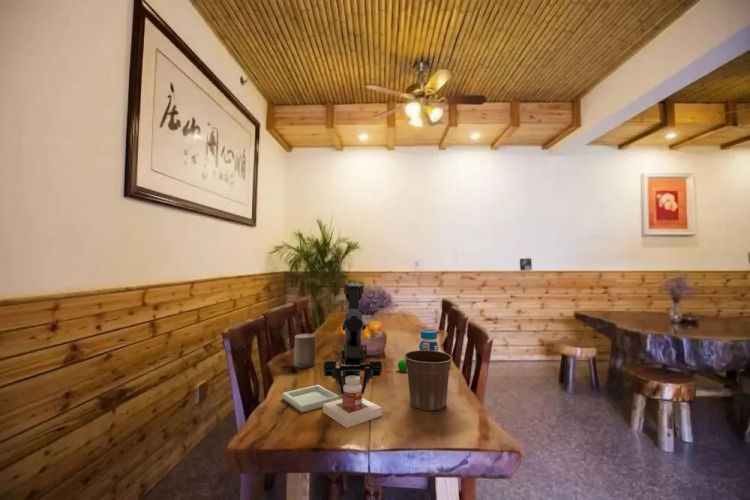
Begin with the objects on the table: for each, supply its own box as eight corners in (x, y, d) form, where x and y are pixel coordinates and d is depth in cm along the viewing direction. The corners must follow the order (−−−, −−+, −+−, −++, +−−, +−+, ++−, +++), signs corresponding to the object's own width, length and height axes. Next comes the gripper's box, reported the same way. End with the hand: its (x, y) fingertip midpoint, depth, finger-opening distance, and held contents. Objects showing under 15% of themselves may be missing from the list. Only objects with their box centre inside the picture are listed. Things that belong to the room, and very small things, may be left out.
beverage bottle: (414, 377, 140) (415, 329, 141) (432, 375, 143) (432, 328, 144) (424, 383, 132) (425, 333, 133) (442, 381, 135) (443, 332, 136)
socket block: (356, 402, 112) (356, 394, 112) (381, 415, 102) (381, 407, 102) (322, 412, 103) (323, 403, 104) (346, 427, 93) (346, 418, 94)
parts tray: (318, 390, 122) (318, 384, 122) (339, 402, 112) (339, 396, 112) (282, 398, 113) (282, 392, 114) (301, 412, 103) (301, 406, 103)
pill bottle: (357, 419, 99) (358, 381, 99) (338, 416, 101) (339, 379, 101) (364, 411, 105) (365, 375, 105) (346, 408, 106) (347, 373, 107)
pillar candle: (319, 364, 155) (320, 332, 156) (304, 369, 147) (305, 335, 148) (304, 361, 160) (305, 330, 162) (289, 366, 152) (290, 333, 153)
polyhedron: (396, 369, 151) (397, 358, 152) (407, 369, 152) (407, 358, 152) (398, 372, 146) (398, 361, 147) (409, 372, 147) (409, 361, 147)
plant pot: (414, 416, 102) (414, 363, 103) (396, 397, 117) (397, 351, 118) (461, 411, 106) (461, 360, 107) (438, 393, 122) (438, 349, 123)
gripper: (325, 335, 107) (320, 381, 96) (382, 335, 109) (384, 381, 97) (326, 353, 115) (322, 398, 103) (379, 353, 116) (381, 398, 104)
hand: (352, 393), depth 102 cm, fingers closed on pill bottle, 6 cm apart
